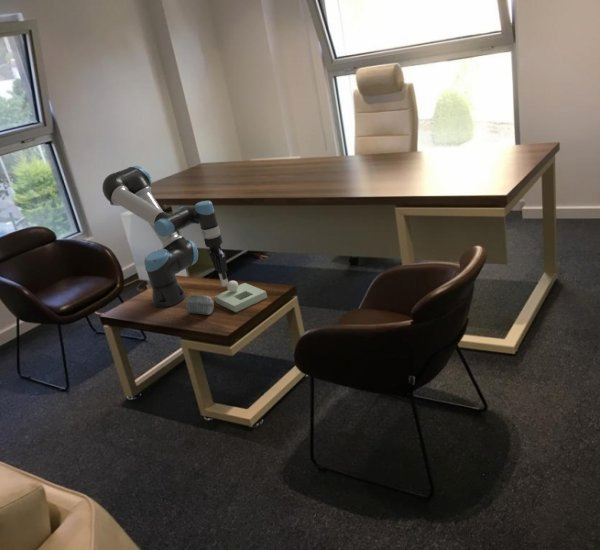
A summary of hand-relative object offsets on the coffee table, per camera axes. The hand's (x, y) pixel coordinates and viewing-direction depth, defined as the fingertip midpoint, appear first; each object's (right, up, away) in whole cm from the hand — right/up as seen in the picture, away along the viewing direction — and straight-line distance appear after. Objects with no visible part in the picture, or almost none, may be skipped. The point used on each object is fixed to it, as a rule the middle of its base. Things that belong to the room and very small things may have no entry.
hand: (225, 285), depth 267 cm
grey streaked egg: (-8, -12, -13) cm, 19 cm away
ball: (+4, 0, -6) cm, 7 cm away
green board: (+8, -6, -8) cm, 13 cm away
